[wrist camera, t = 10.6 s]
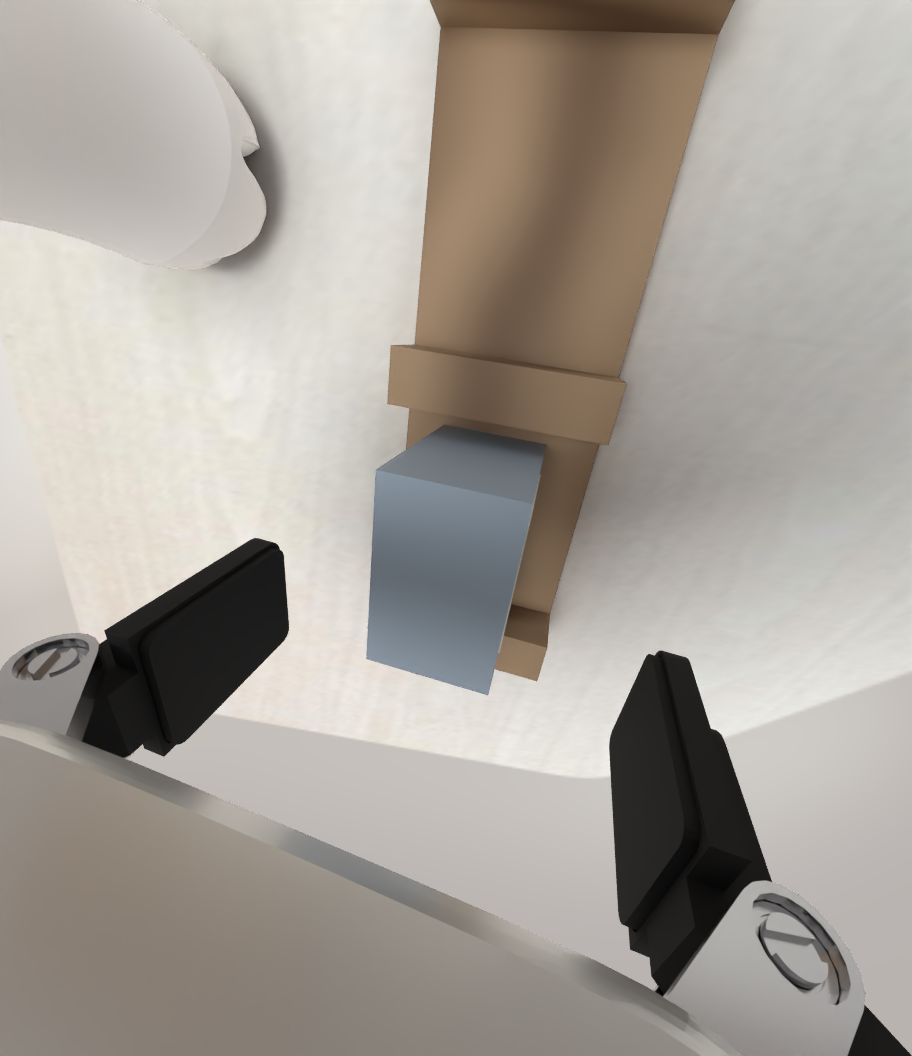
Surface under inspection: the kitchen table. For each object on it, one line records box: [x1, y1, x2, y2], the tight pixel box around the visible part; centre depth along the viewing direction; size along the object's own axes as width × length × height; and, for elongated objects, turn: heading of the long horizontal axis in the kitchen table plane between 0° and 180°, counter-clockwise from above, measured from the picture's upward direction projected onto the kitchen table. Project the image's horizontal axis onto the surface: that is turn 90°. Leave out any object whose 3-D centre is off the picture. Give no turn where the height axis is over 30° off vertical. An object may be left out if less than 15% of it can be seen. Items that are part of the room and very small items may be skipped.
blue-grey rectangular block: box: [366, 425, 547, 695], centre depth 16 cm, size 4×7×7 cm, turn 172°
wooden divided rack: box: [387, 0, 735, 681], centre depth 16 cm, size 8×24×4 cm, turn 172°
